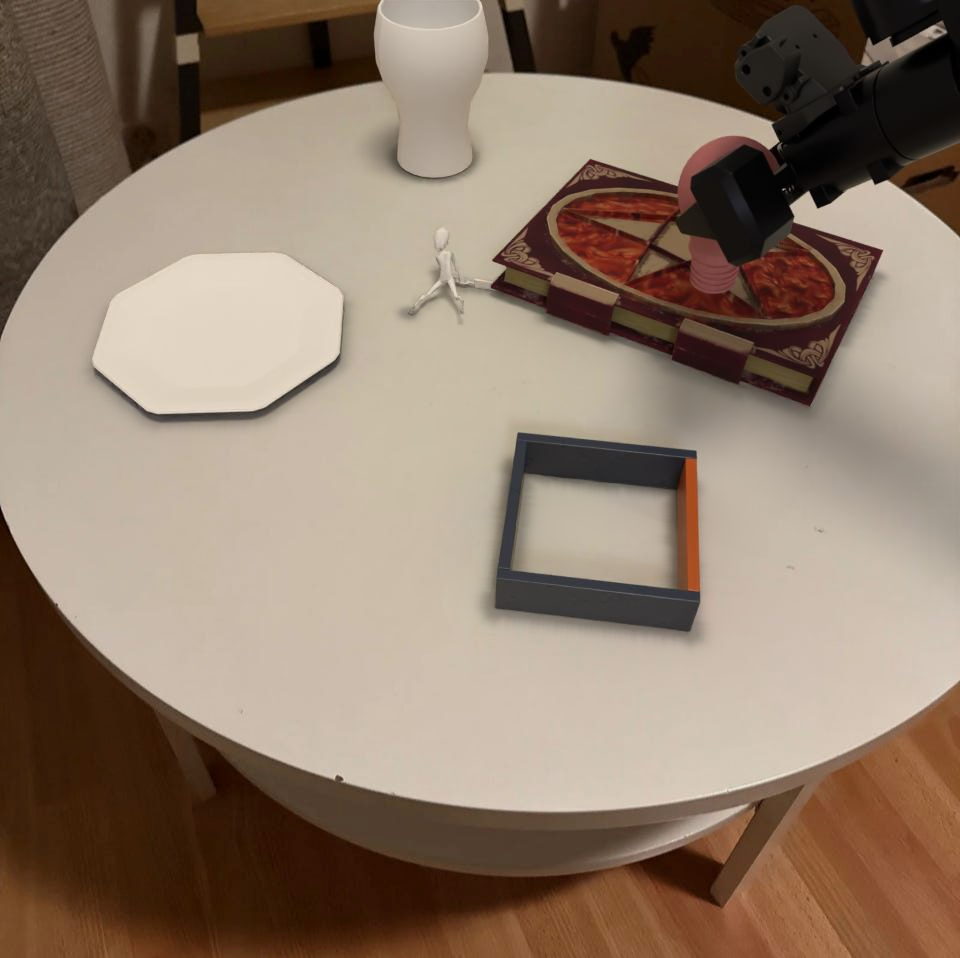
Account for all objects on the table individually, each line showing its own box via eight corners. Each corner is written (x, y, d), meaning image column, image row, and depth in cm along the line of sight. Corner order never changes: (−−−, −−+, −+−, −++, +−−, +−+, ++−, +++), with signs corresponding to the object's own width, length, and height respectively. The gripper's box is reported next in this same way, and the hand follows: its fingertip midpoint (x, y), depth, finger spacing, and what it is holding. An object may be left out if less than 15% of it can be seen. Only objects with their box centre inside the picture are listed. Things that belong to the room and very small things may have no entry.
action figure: (547, 342, 78) (562, 276, 82) (543, 301, 74) (560, 233, 77) (412, 328, 81) (432, 264, 84) (400, 287, 76) (422, 222, 79)
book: (871, 277, 84) (892, 229, 80) (806, 416, 71) (827, 367, 67) (588, 186, 92) (594, 139, 88) (485, 296, 80) (488, 246, 76)
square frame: (687, 482, 67) (696, 450, 64) (690, 632, 59) (700, 602, 56) (515, 464, 68) (517, 431, 65) (494, 608, 60) (495, 578, 57)
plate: (201, 464, 68) (196, 451, 67) (56, 343, 77) (50, 329, 75) (392, 334, 78) (390, 320, 76) (244, 239, 86) (241, 225, 85)
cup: (497, 179, 92) (501, 26, 81) (392, 192, 91) (381, 38, 79) (473, 125, 99) (474, -23, 87) (375, 137, 97) (363, -13, 86)
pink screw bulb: (651, 304, 70) (676, 159, 61) (671, 251, 74) (698, 108, 65) (745, 325, 68) (786, 180, 59) (761, 270, 72) (801, 126, 63)
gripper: (921, -66, 56) (730, 57, 69) (754, 33, 47) (571, 153, 60) (993, 102, 58) (795, 191, 72) (846, 227, 50) (651, 301, 63)
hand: (708, 204), depth 67 cm, fingers closed on pink screw bulb, 7 cm apart
